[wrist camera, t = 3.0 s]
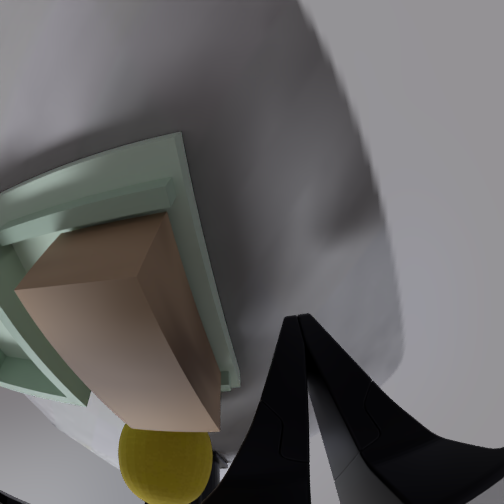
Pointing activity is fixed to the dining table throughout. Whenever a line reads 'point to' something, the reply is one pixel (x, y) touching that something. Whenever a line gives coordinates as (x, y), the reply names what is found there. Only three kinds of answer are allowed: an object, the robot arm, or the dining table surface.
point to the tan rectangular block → (128, 323)
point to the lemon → (165, 464)
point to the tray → (91, 214)
